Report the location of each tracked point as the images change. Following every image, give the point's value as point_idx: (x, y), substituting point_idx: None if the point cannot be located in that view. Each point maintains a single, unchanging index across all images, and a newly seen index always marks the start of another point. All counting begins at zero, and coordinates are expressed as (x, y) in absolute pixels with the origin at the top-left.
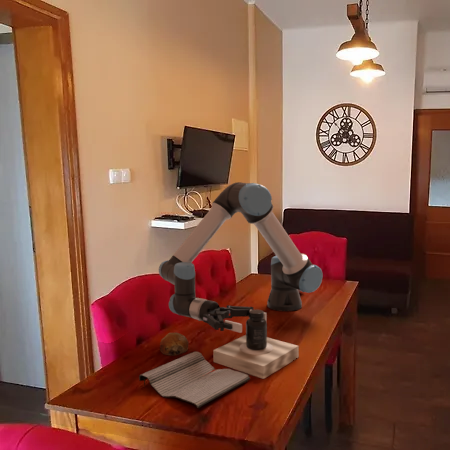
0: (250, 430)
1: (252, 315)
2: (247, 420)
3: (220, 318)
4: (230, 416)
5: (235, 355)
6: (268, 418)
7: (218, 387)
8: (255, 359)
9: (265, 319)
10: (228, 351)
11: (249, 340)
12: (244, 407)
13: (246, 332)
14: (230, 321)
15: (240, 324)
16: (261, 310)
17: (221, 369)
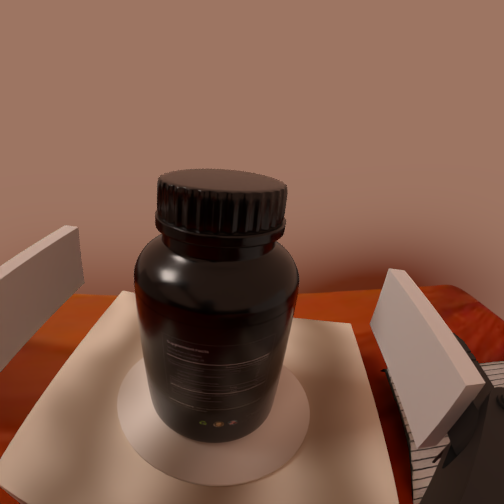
0: (466, 303)
1: (285, 201)
2: (461, 314)
3: (492, 482)
4: (481, 332)
5: (366, 435)
6: (431, 299)
7: (488, 373)
8: (330, 358)
9: (80, 270)
10: (356, 492)
11: (280, 373)
12: (451, 331)
13: (272, 365)
14: (444, 335)
15: (403, 271)
16: (176, 171)
17: (415, 474)
